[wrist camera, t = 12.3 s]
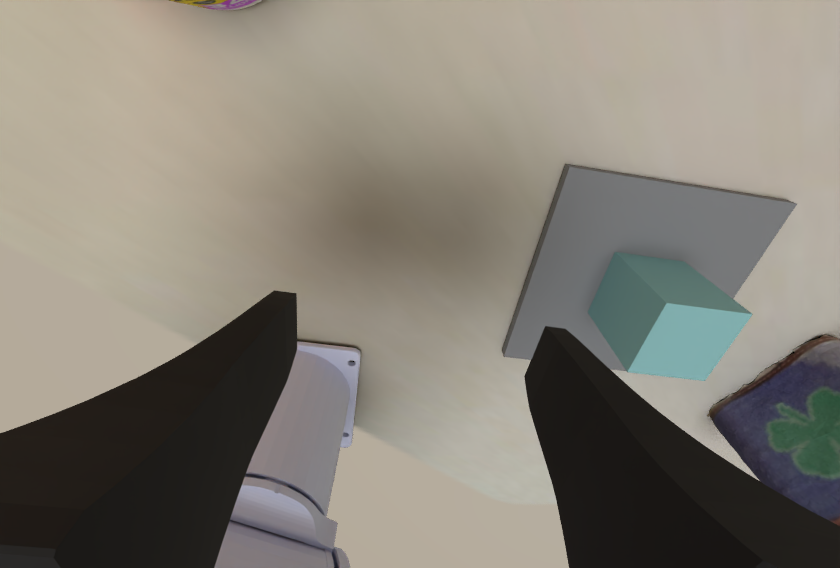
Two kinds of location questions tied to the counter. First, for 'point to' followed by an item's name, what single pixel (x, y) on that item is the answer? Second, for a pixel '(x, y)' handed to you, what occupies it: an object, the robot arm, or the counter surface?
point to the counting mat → (633, 246)
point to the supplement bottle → (220, 3)
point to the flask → (791, 426)
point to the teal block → (665, 317)
